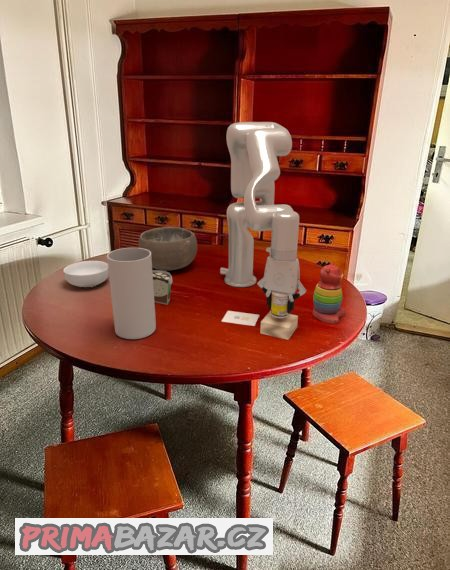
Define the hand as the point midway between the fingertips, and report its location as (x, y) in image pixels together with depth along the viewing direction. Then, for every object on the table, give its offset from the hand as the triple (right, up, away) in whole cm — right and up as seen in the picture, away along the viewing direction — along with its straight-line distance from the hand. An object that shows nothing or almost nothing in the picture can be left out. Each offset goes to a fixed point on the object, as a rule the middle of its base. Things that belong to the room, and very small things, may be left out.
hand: (280, 308), depth 132 cm
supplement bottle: (0, -2, +1) cm, 2 cm away
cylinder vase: (-45, -7, +2) cm, 45 cm away
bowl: (-41, +15, +54) cm, 69 cm away
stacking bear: (+17, -3, +13) cm, 22 cm away
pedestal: (0, -7, +3) cm, 7 cm away
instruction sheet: (-12, -4, +10) cm, 16 cm away
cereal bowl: (-70, +8, +36) cm, 79 cm away
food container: (-40, +2, +24) cm, 47 cm away
